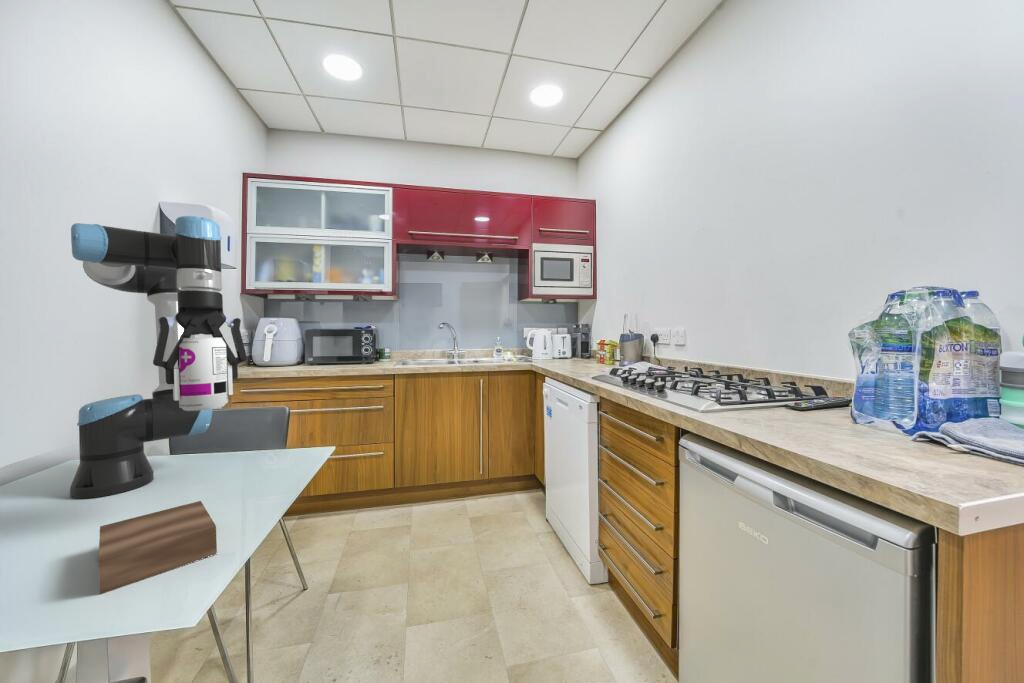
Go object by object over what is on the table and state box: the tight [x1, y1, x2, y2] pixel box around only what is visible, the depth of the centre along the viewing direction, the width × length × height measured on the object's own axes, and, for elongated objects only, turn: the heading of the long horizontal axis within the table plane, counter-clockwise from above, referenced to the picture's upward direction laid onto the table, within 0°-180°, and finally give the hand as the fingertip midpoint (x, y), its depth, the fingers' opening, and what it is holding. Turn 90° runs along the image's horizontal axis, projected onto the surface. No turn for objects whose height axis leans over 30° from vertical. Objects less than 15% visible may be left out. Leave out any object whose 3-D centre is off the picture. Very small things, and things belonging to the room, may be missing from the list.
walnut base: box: [98, 500, 218, 595], centre depth 68 cm, size 16×14×5 cm
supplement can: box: [178, 337, 229, 411], centre depth 83 cm, size 8×8×15 cm
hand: (204, 396), depth 83 cm, fingers closed on supplement can, 8 cm apart
